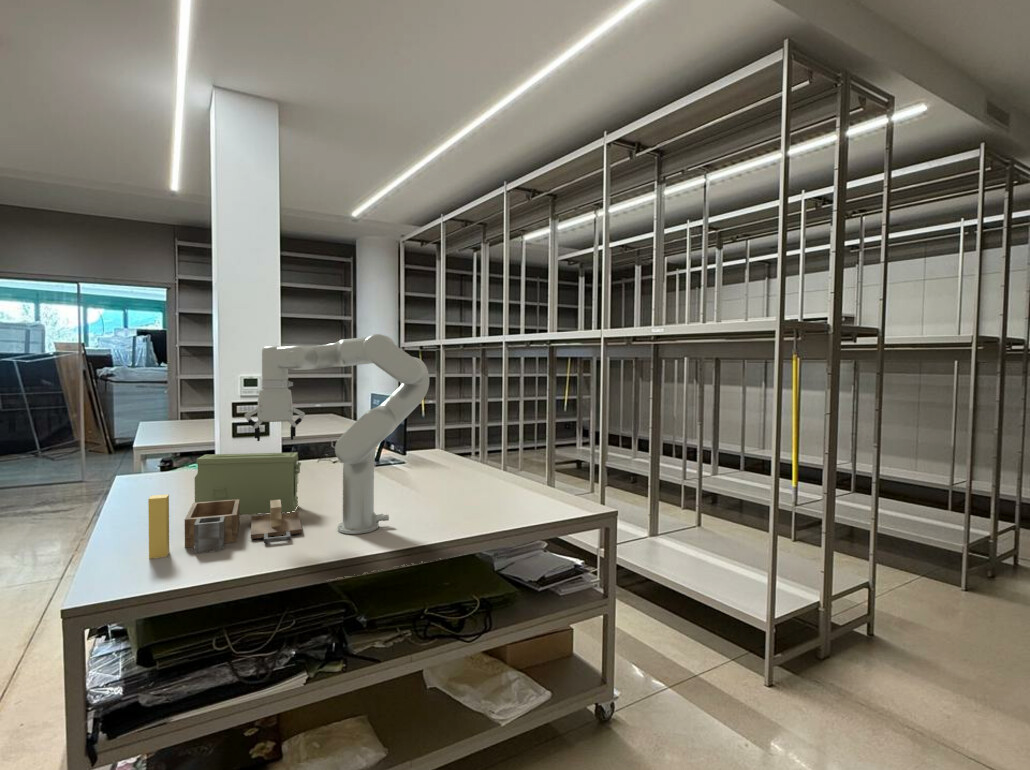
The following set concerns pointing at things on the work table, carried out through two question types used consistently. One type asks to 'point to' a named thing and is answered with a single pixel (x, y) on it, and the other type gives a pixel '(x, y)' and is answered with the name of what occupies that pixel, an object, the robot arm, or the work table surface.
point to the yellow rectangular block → (158, 526)
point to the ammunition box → (249, 480)
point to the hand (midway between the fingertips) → (275, 439)
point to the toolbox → (212, 525)
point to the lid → (275, 524)
